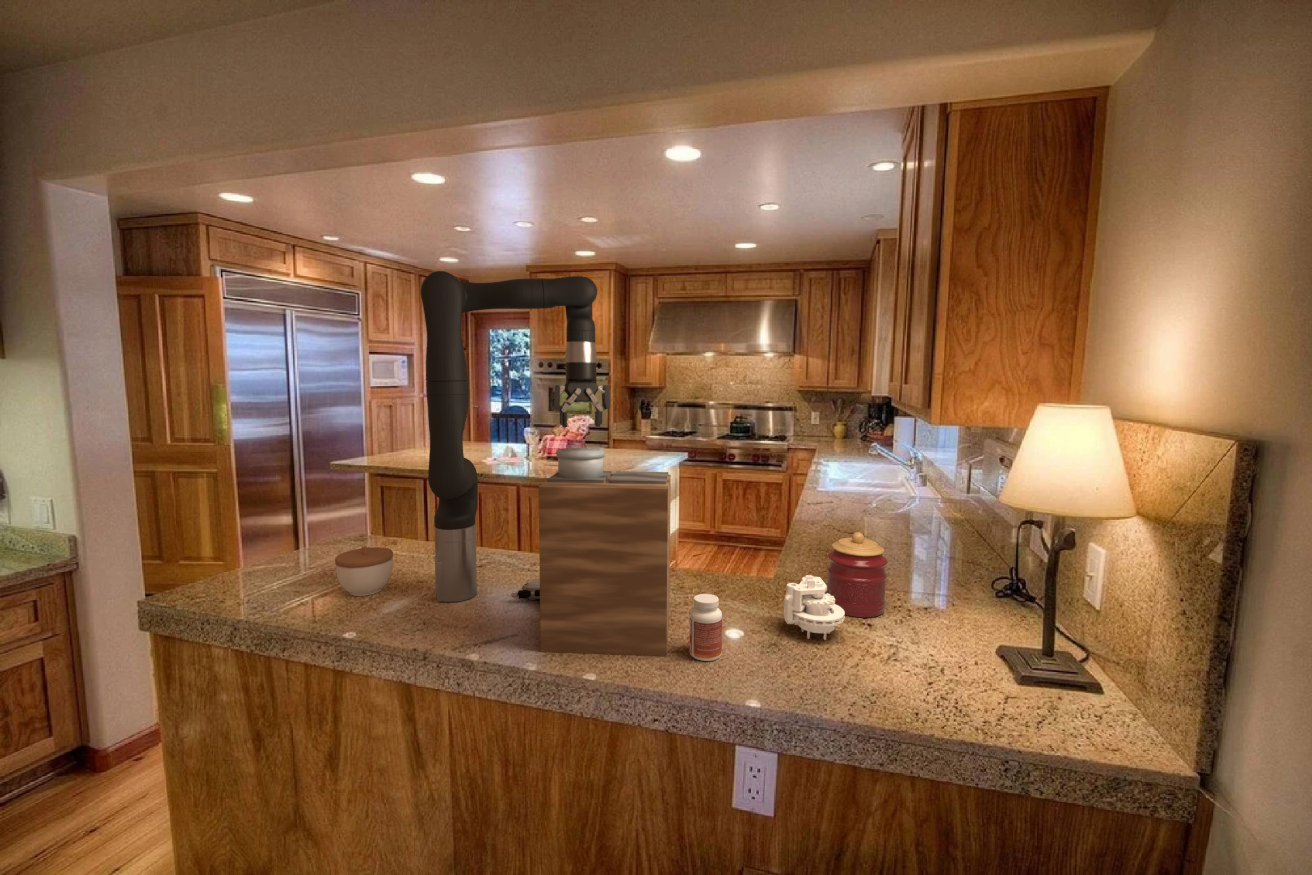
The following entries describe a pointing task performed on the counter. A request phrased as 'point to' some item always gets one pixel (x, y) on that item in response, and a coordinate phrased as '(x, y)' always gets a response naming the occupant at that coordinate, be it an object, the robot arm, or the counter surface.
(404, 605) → the counter surface
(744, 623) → the counter surface
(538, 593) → the robot toy
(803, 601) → the mechanical part
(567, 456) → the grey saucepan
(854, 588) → the canister
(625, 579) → the wooden box
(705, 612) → the pill bottle
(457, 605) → the counter surface
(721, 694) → the counter surface
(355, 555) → the lidded bowl
